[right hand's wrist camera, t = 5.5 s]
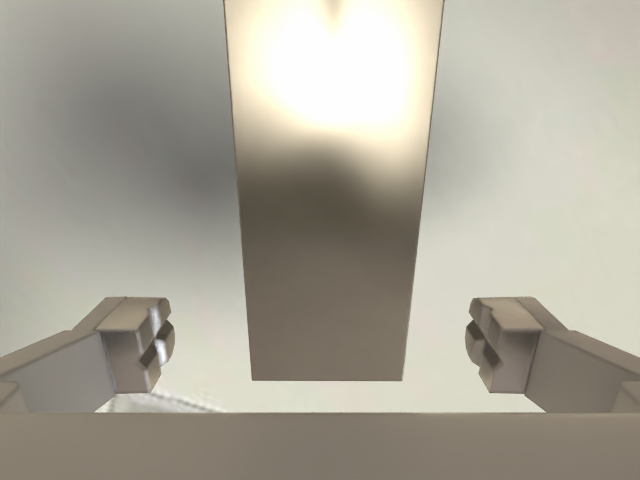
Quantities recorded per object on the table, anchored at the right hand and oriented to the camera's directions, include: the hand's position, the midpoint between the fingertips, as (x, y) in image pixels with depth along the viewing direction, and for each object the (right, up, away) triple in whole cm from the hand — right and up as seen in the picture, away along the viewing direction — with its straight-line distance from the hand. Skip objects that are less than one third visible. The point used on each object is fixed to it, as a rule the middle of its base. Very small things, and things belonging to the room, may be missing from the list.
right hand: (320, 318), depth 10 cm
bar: (0, +13, +7) cm, 14 cm away
